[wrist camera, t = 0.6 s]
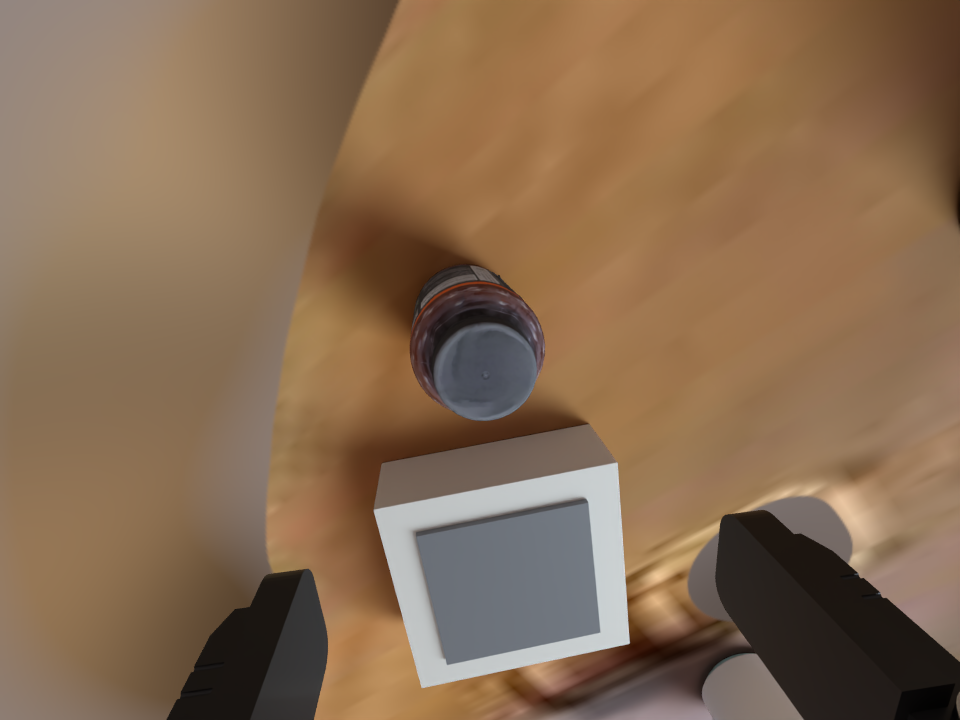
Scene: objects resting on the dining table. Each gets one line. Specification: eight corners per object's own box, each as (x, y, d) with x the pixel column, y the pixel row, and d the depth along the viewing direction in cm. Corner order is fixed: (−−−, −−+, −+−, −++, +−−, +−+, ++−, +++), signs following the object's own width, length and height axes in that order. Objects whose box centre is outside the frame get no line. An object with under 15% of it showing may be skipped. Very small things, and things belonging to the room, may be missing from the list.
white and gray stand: (589, 423, 32) (620, 466, 27) (603, 586, 36) (632, 649, 31) (381, 463, 31) (372, 514, 26) (422, 623, 36) (421, 694, 30)
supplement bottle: (522, 345, 30) (575, 426, 19) (429, 369, 29) (429, 464, 19) (502, 250, 28) (549, 280, 17) (402, 275, 27) (385, 321, 17)
